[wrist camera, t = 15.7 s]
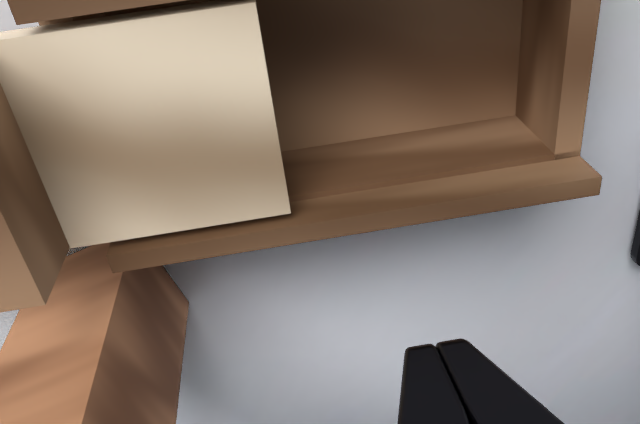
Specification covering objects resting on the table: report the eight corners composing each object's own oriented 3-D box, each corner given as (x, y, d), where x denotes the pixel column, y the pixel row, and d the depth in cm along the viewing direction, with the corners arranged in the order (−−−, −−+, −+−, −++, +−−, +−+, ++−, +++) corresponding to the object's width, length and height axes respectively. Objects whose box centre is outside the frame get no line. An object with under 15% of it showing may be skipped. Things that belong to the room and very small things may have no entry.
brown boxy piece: (529, 126, 21) (599, 194, 17) (138, 187, 21) (112, 273, 17) (548, -111, 17) (646, -96, 13) (63, -42, 17) (5, -4, 13)
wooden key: (206, 306, 24) (182, 647, 14) (97, 350, 24) (-4, 709, 14) (139, 211, 21) (48, 547, 11) (18, 263, 22) (-172, 627, 12)
